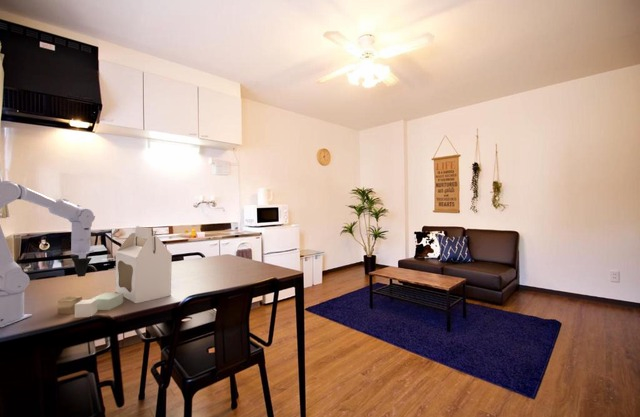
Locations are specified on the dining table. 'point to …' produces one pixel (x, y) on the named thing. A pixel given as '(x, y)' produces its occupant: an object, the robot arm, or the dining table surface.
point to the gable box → (143, 267)
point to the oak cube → (68, 304)
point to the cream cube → (86, 308)
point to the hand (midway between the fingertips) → (80, 274)
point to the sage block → (108, 300)
